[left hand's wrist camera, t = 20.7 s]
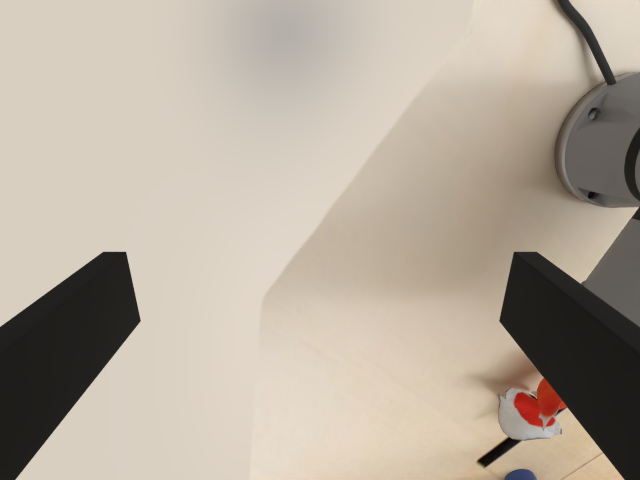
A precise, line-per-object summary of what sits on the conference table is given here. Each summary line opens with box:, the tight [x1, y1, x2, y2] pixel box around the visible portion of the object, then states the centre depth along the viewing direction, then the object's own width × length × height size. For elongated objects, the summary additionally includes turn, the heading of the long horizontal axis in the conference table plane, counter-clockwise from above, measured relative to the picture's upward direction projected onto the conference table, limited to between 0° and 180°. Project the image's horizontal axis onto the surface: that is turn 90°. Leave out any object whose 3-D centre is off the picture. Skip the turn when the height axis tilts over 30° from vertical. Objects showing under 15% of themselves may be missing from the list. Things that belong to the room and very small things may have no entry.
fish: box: [498, 378, 567, 440], centre depth 54 cm, size 11×16×10 cm
